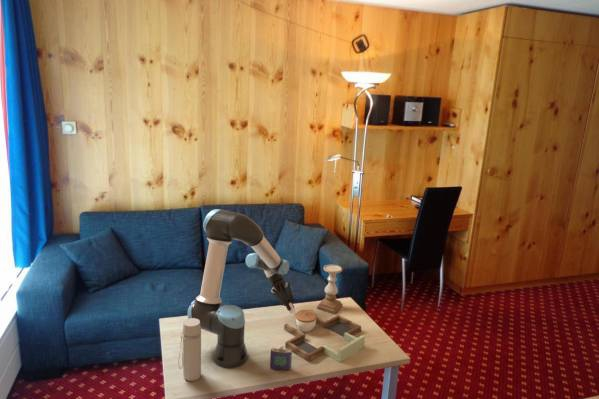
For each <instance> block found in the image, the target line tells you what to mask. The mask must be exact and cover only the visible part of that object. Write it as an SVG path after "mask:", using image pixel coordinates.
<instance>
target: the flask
mask: <svg viewBox="0 0 599 399" xmlns="http://www.w3.org/2000/svg"><path fill="white" fill-rule="evenodd" d="M269 355H270V358H269V359H270V361H269V362H270V363H269V364H270V365H269V369H270V370H274V371H282V372H283V371H287V372H288V371H291V369H292V360H293V359H292V358H293V357H292V356H293V352H292V350H290V349H286V348H285V349H284V346H280V348H276V347H272V348H271V349H270V354H269Z"/></svg>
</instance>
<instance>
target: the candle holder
mask: <svg viewBox="0 0 599 399" xmlns="http://www.w3.org/2000/svg"><path fill="white" fill-rule="evenodd" d="M323 270H324V272H326V273H328V277H327V281H328V284H327V285H326V286H325V287H324V293H325V295H324V298H323V299H322V300H321V301H320V302H319V303H318V304H317V306H316V309H317V310H318V311H322V312H325V313H329V314H332V315H336V314H337V313H338V312H339V311H340V310H341V309H342V308H343V303H342V301H341V300H338V299H337V294H338V291H339V290H338V287H337V285H336V282H337V277H336V275H337V274H339V273H341V272H343V267H341V266H340V265H337V264H326V265H324V266H323Z"/></svg>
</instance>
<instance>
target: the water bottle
mask: <svg viewBox="0 0 599 399" xmlns="http://www.w3.org/2000/svg"><path fill="white" fill-rule="evenodd" d="M179 349H182V351H179V353H178V359H180V357H181V360H182V365H181V366H180V360H178V361H177V362H178V368H179V370H181V369H183V374H182V375H183V378H184V380H186V381H188V382H194V381H197V380H199V379H200V378H201V376H202V329H201V326H200V321H199V320H198V319H196V318H190V319H188V318H187V319H185V320H184V321H183V324H182V332H181V333H180V345H179ZM180 354H181V356H180Z"/></svg>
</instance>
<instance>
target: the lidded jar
mask: <svg viewBox="0 0 599 399" xmlns="http://www.w3.org/2000/svg"><path fill="white" fill-rule="evenodd" d="M317 318H318V316H317V313H316V312H315V311H313V310H307V309H306V310H305V309H304V310H299V311H296V315H295V324H296V327H297V329H298V330H299V331H300V332H302V333H309V332H311V331H313V329H314V328H315V326H316V325H317V324H316V319H317Z"/></svg>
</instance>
